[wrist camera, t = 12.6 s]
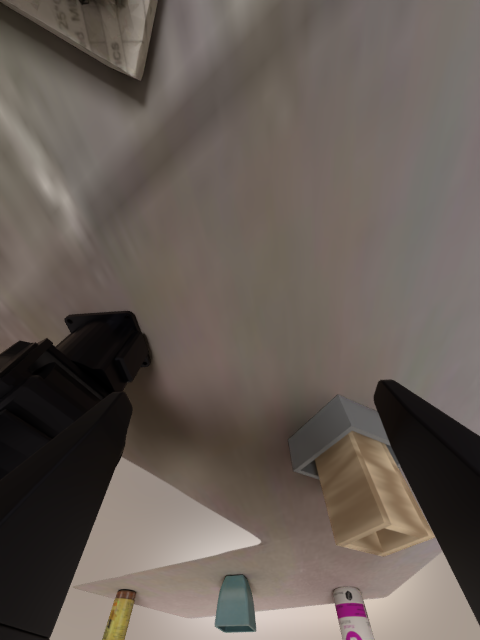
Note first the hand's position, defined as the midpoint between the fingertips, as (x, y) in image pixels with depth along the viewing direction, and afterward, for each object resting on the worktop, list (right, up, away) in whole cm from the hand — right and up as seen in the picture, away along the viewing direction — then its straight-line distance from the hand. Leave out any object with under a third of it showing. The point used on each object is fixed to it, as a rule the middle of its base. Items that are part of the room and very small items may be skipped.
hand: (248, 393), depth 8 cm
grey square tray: (+13, -12, +22) cm, 28 cm away
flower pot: (-1, -70, +57) cm, 90 cm away
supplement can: (+32, -79, +62) cm, 105 cm away
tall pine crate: (+13, -12, +21) cm, 28 cm away
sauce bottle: (-38, -87, +68) cm, 117 cm away
